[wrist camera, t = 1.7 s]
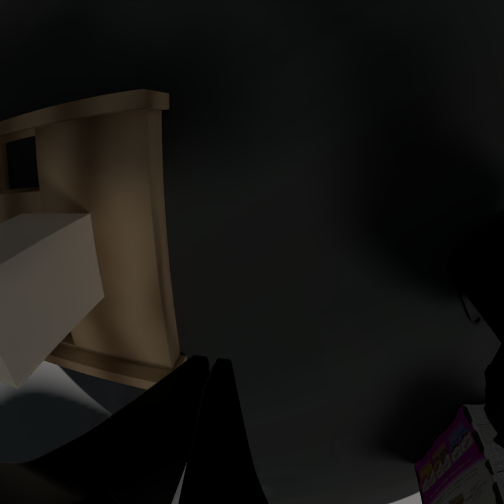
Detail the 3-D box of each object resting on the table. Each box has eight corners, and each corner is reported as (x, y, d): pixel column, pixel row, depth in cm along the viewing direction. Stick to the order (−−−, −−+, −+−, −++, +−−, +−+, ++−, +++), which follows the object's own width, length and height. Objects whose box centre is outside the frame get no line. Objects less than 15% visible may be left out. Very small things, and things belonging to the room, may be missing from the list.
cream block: (90, 213, 19) (-28, 282, 10) (104, 296, 21) (17, 389, 12) (21, 213, 20) (-80, 267, 10) (37, 285, 22) (-46, 354, 13)
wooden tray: (169, 93, 17) (143, 88, 14) (187, 364, 25) (174, 394, 22) (-38, 140, 20) (-63, 146, 17) (0, 319, 28) (-19, 335, 24)
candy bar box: (445, 461, 27) (468, 571, 12) (412, 464, 28) (429, 583, 13) (496, 399, 23) (546, 526, 8) (462, 401, 23) (509, 545, 8)
